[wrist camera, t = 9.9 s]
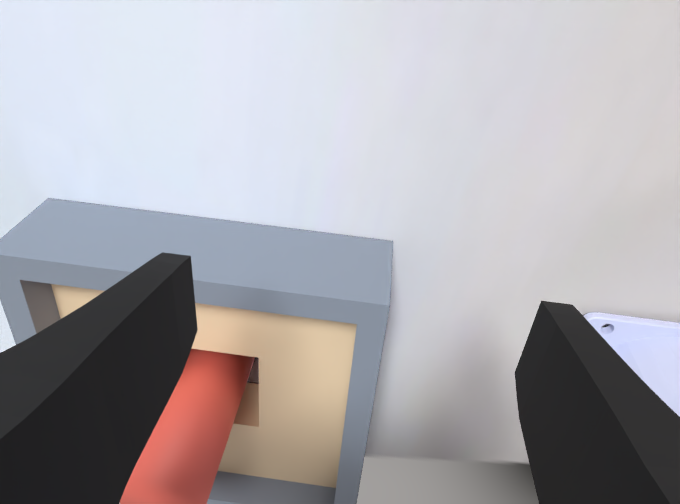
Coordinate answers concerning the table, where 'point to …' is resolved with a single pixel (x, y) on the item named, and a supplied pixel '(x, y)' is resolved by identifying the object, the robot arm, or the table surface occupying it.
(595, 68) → the table surface
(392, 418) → the table surface
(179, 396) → the peg
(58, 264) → the box
